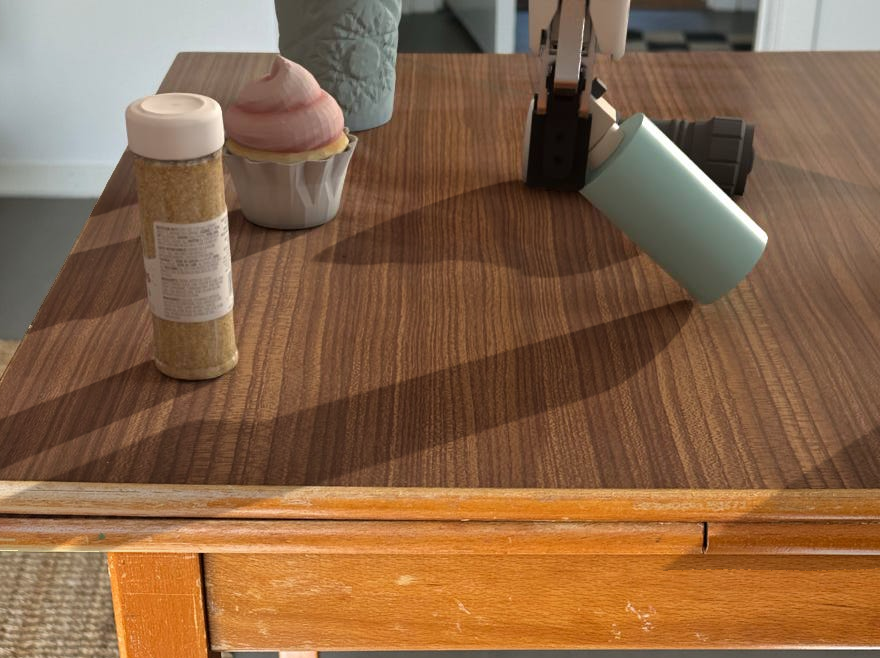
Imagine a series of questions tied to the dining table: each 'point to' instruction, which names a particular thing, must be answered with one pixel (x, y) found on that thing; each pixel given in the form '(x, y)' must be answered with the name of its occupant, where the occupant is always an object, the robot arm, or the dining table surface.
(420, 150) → the dining table surface
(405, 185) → the dining table surface
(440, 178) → the dining table surface
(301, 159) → the cupcake
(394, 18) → the embossed vase
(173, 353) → the sprinkles bottle
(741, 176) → the flashlight
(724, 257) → the spray bottle
